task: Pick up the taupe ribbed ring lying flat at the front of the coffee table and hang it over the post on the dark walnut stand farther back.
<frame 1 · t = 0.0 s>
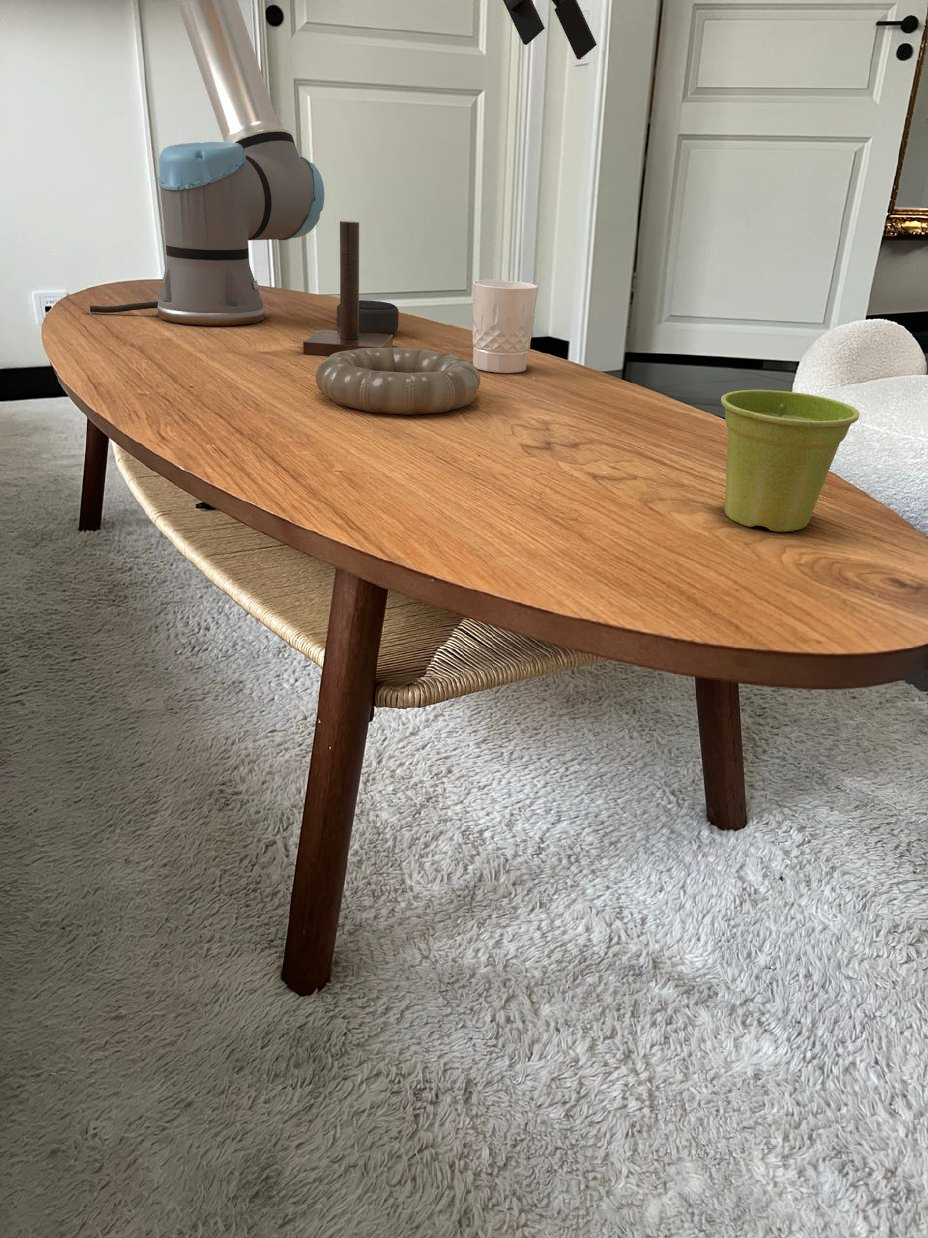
hand: (562, 44, 107), 36 cm above the table, tool tilted 35°, fingers open, 13 cm apart
white cup: (499, 369, 114), on the table
taupe ribbed ring: (399, 379, 95), point 2 cm above the table
tape stand: (349, 349, 119), on the table
smart speaker: (367, 334, 131), on the table
plant pot: (763, 521, 68), on the table
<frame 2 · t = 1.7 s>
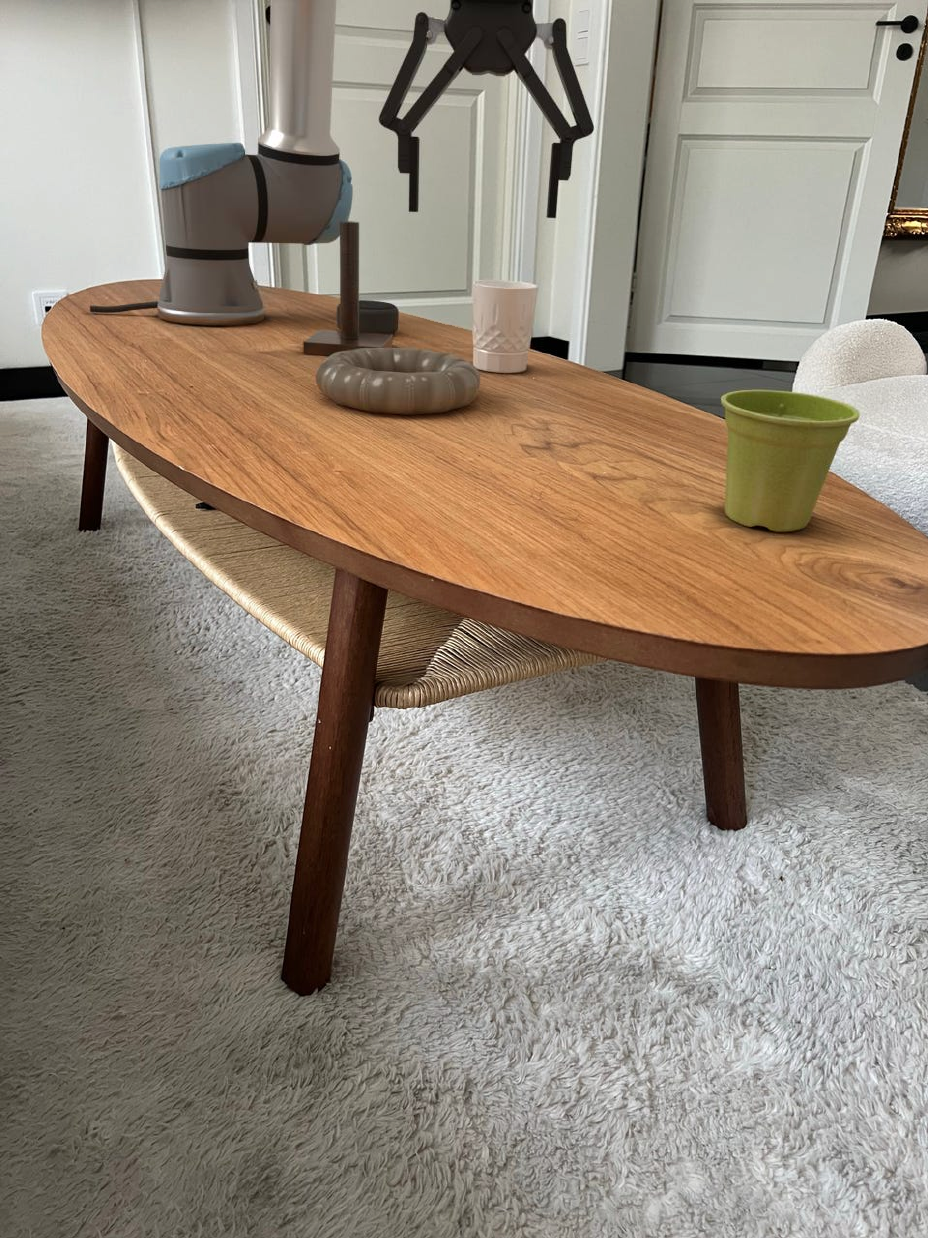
hand: (482, 215, 89), 18 cm above the table, tool pointing down, fingers open, 13 cm apart
nothing on the table moved.
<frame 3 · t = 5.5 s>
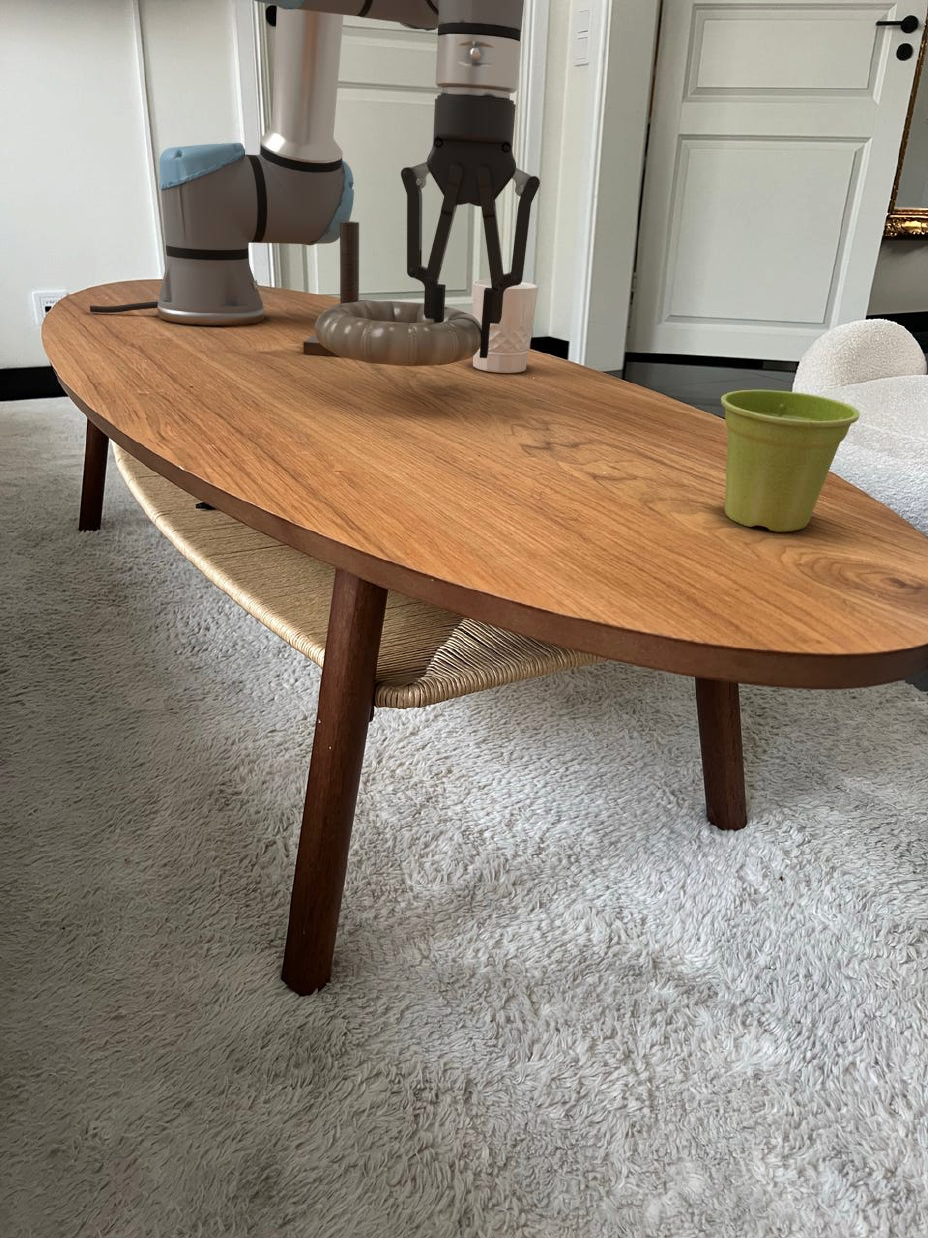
hand: (460, 353, 94), 5 cm above the table, tool pointing down, fingers closed on taupe ribbed ring, 4 cm apart
taupe ribbed ring: (399, 331, 93), point 7 cm above the table, touching gripper
everything else where it was.
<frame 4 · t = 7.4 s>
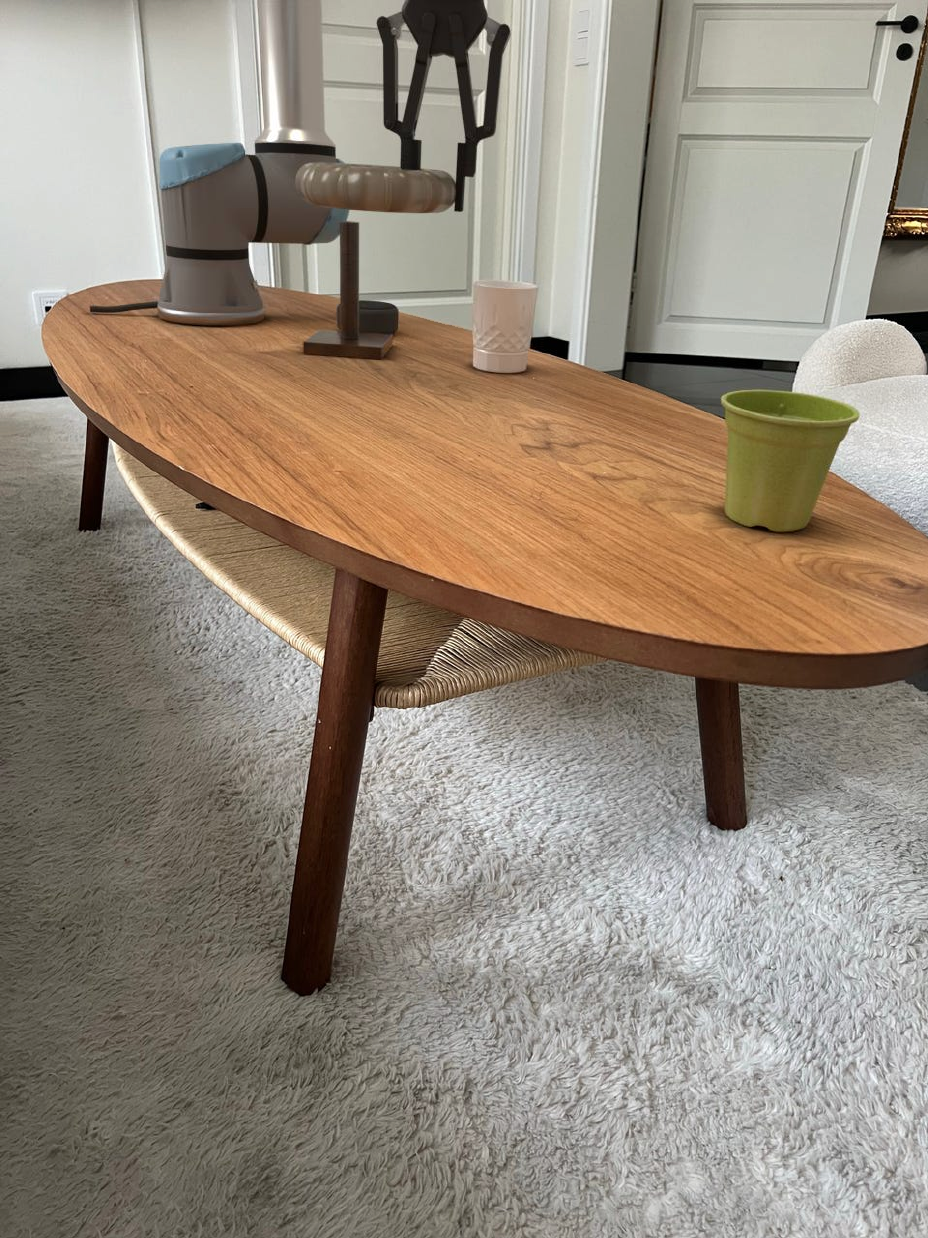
hand: (436, 208, 97), 18 cm above the table, tool pointing down, fingers closed on taupe ribbed ring, 4 cm apart
taupe ribbed ring: (377, 187, 97), point 20 cm above the table, touching gripper
everything else where it was.
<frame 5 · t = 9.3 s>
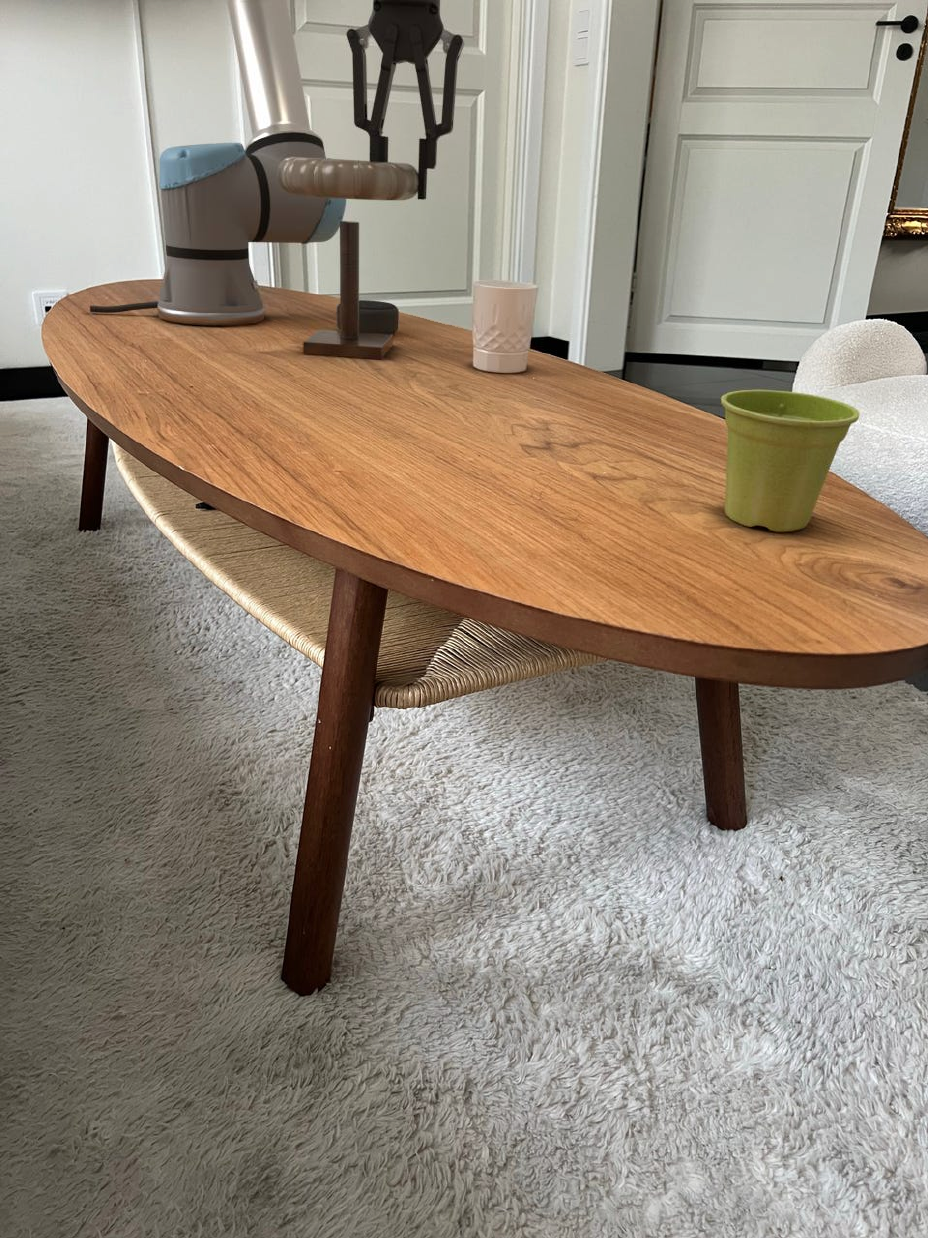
hand: (402, 197, 110), 19 cm above the table, tool pointing down, fingers closed on taupe ribbed ring, 4 cm apart
taupe ribbed ring: (350, 178, 110), point 20 cm above the table, touching gripper
everything else where it was.
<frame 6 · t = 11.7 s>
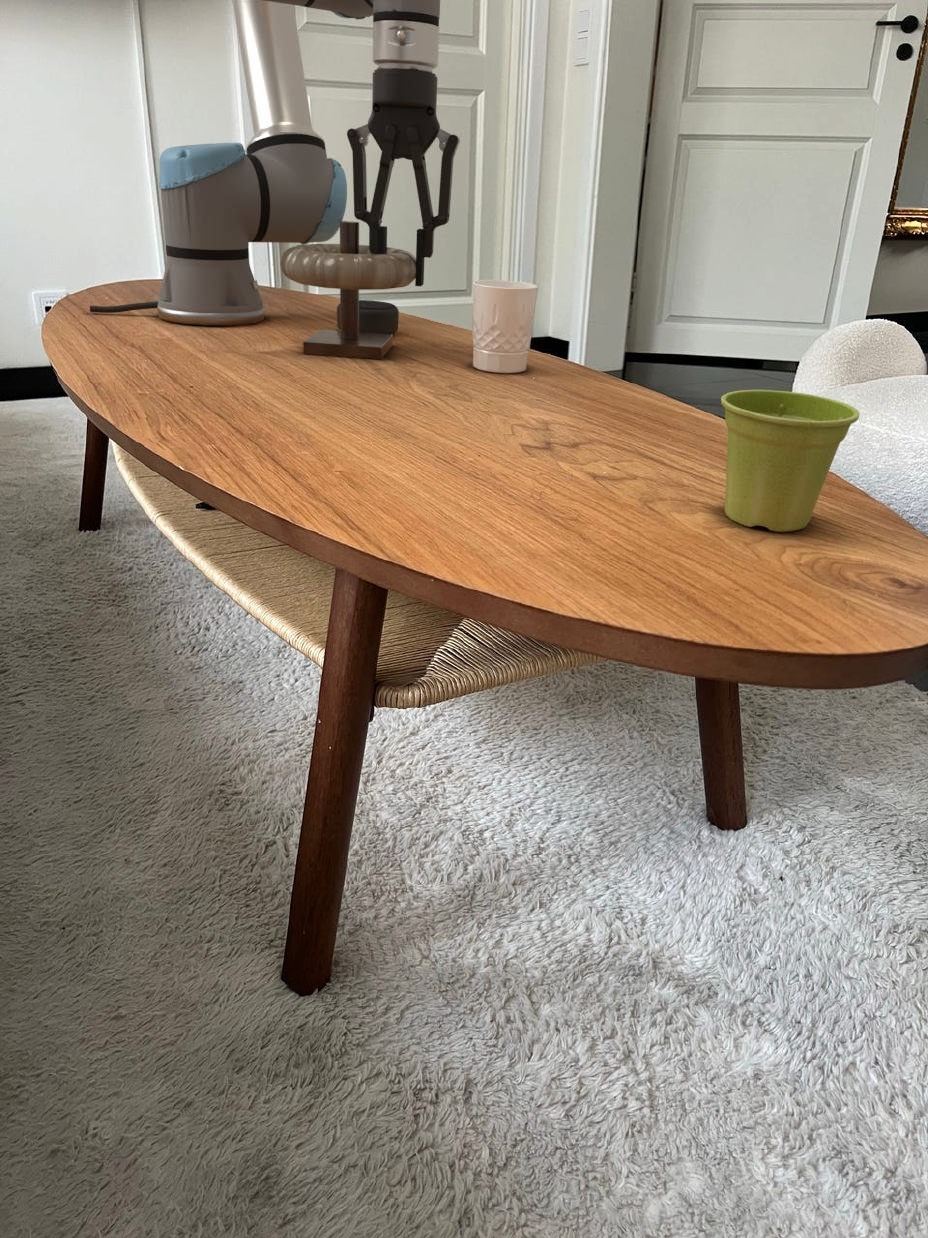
hand: (400, 283, 115), 9 cm above the table, tool pointing down, fingers closed on taupe ribbed ring, 4 cm apart
taupe ribbed ring: (350, 265, 114), point 10 cm above the table, touching gripper
everything else where it was.
when the fingers open (5 cm above the table, at t = 13.6 s): taupe ribbed ring drops 4 cm, resting on tape stand.
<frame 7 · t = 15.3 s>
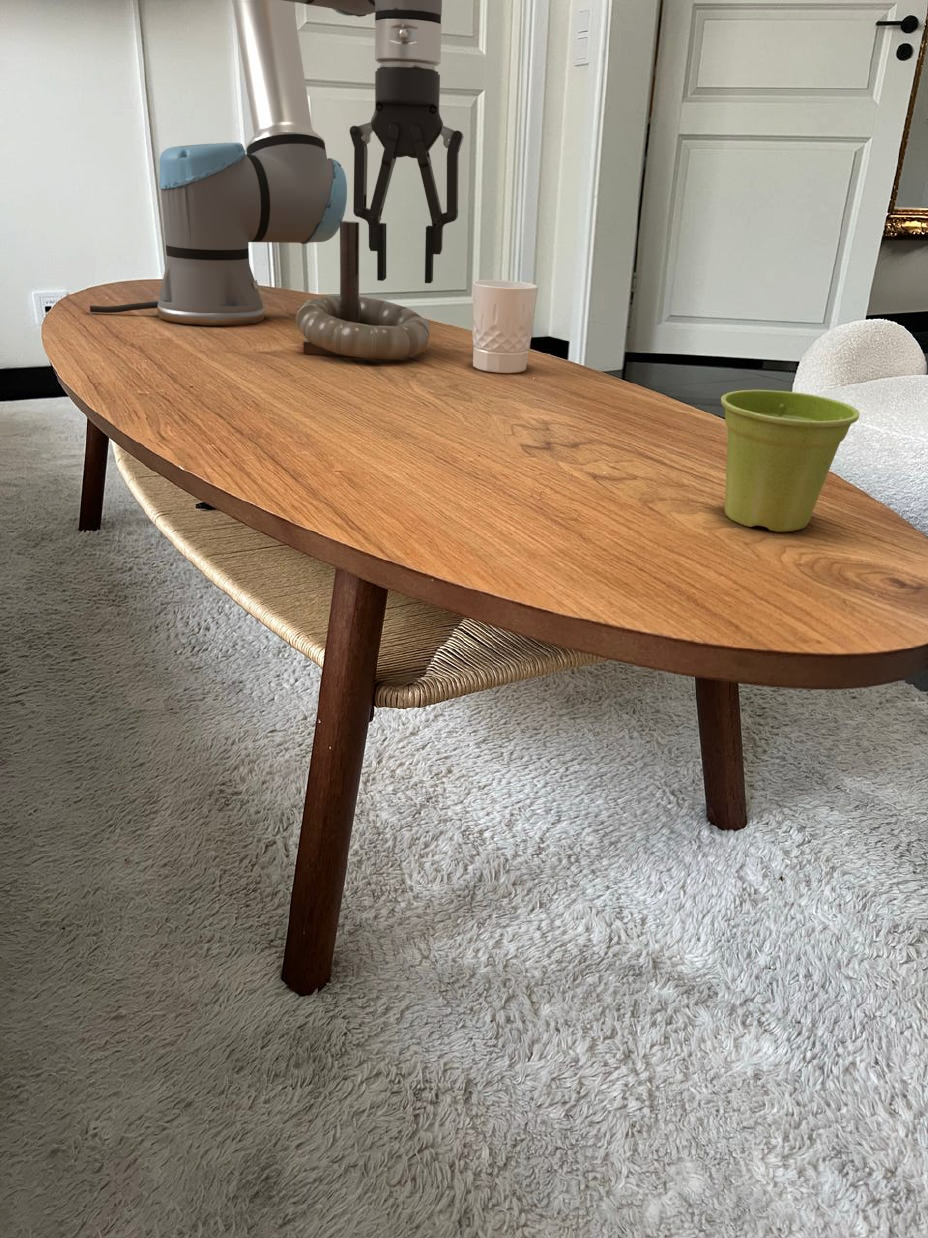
hand: (405, 280, 115), 9 cm above the table, tool pointing down, fingers open, 5 cm apart
taupe ribbed ring: (364, 326, 116), point 3 cm above the table, tilted 8°, touching tape stand
everything else where it was.
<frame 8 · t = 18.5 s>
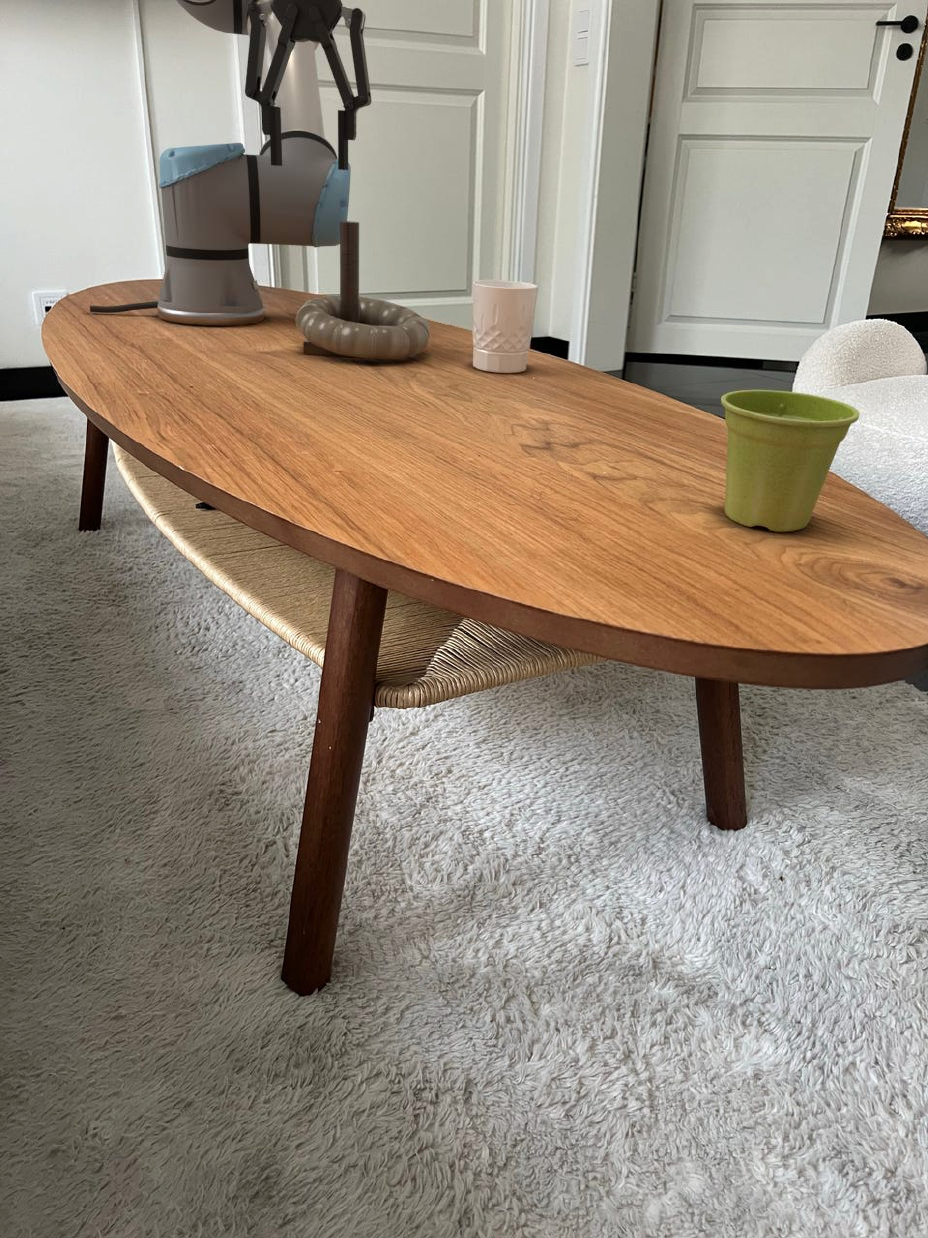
hand: (309, 167, 114), 21 cm above the table, tool pointing down, fingers open, 8 cm apart
nothing on the table moved.
at the end: taupe ribbed ring 2.5 cm off-centre on the tape stand, point 3.3 cm above the tape stand's base; the gripper is holding nothing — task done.
